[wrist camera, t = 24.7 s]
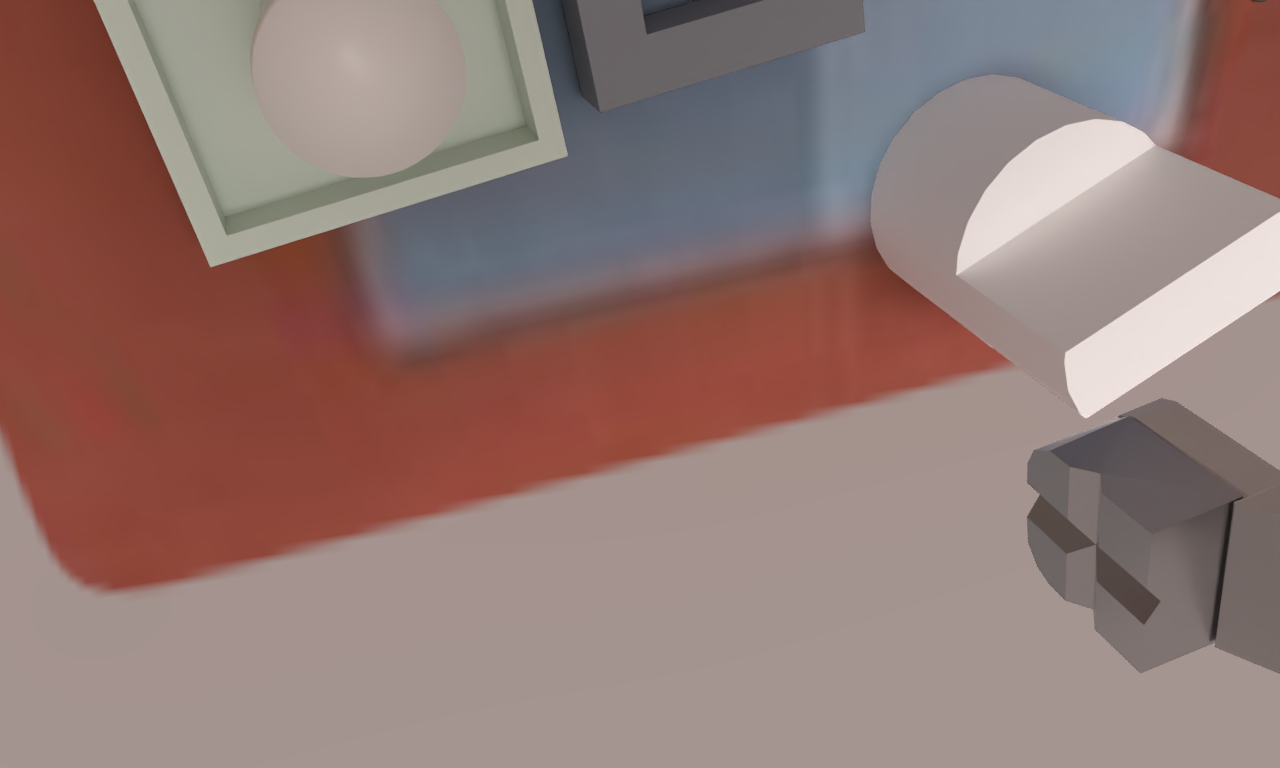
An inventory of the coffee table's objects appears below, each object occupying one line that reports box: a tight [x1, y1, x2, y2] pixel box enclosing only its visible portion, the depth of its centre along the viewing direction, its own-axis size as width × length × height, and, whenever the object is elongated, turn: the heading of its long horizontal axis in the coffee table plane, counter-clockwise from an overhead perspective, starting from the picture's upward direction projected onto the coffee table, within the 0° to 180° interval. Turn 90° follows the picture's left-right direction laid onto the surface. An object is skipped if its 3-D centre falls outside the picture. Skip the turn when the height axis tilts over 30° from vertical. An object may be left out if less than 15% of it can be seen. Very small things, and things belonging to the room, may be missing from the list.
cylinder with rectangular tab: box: [870, 74, 1280, 418], centre depth 41 cm, size 9×9×12 cm
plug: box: [250, 0, 466, 178], centre depth 32 cm, size 5×5×7 cm
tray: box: [94, 0, 568, 267], centre depth 34 cm, size 12×12×2 cm
